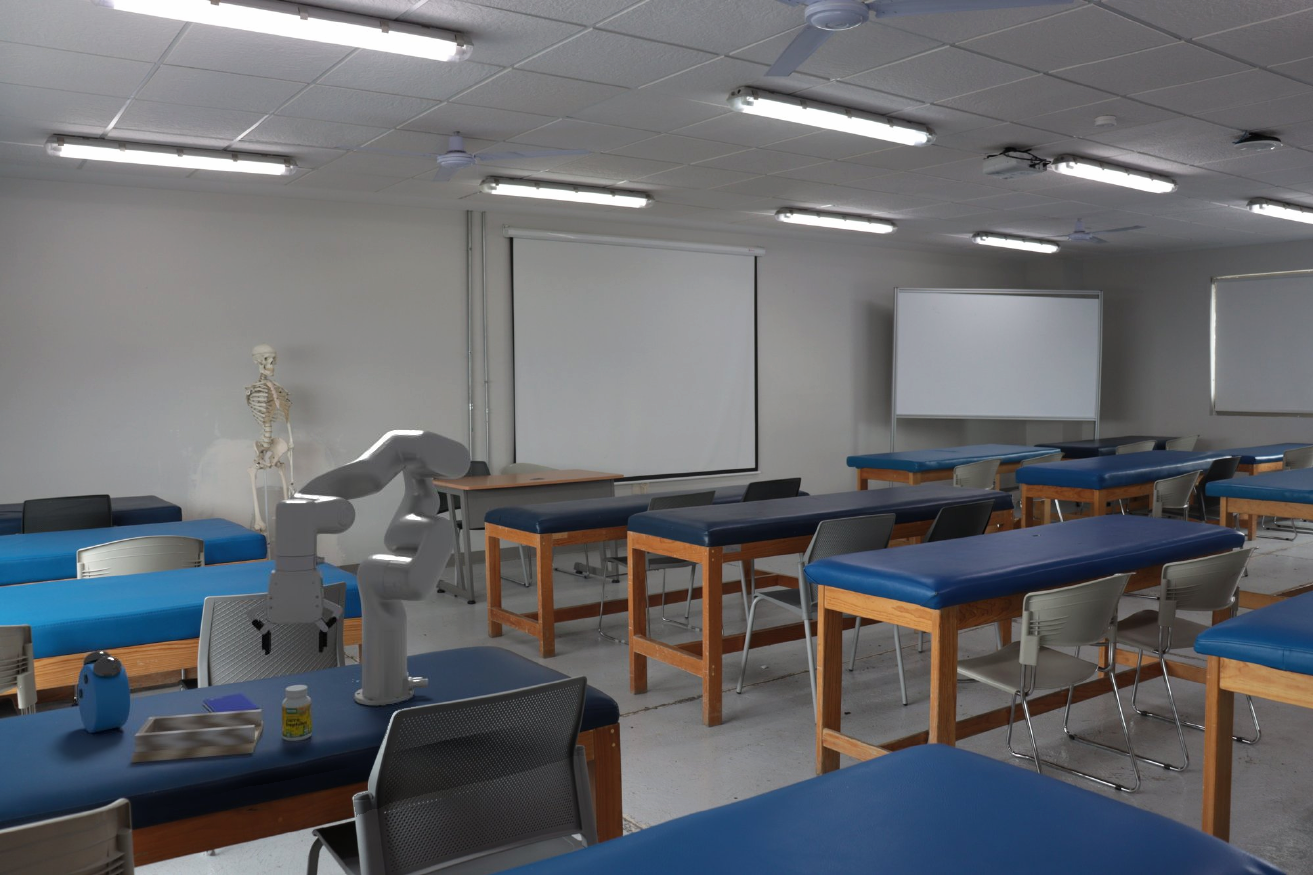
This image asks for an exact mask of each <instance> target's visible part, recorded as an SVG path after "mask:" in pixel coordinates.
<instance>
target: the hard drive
mask: <svg viewBox="0 0 1313 875" xmlns="http://www.w3.org/2000/svg"><path fill="white" fill-rule="evenodd" d="M202 705H203V706H204V707H205V708H206V709H207V710H208V711H209V713H216V712H230V711H245V710H259V709H261V708H260V707H258V706H257V704H255V703H254V702H253V701H252V700H251V699H250V698H249V697H248V696H247V695H245V694H244V693H242V692H241V693H233V694H228V695H224V696H217V697H211V698H207V699H204V700H202Z"/></svg>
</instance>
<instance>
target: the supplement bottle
mask: <svg viewBox="0 0 1313 875" xmlns="http://www.w3.org/2000/svg"><path fill="white" fill-rule="evenodd" d="M308 691H309V690H308V686H307V685H306V684H294V685H289V686H287V687H286V688H285V698H284V699H283V700H282V702H281V734H282V735H281V737H282V739H284V740H285V741H289V742H296V741H297V742H298V741H302V740H306V739H308V738H310V737H311V736H312V733H313V727H312V726H313V722H312V721H313V720H312V719H313V718H312V714H313V713H312V699H311V697H310V696H308V693H309V692H308Z"/></svg>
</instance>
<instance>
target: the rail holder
mask: <svg viewBox="0 0 1313 875" xmlns="http://www.w3.org/2000/svg"><path fill="white" fill-rule="evenodd" d="M263 728H264V721H263V709H261V708H260V709H259V710H245V711H230V712H216V713H211V712H204V713H203V712H202V713H191V714H178V715H177V714H176V715H175V714H173V715H164V716H163V715H161V716H150V717H148V718H147V720H146V721H145V722H144V723H143V725H142V726H141V727H140V729H139V730H138V731H137V732H136V733H135V735H134V752H133V754H132V756H131V763H143V762H154V761H155V762H156V761H167V760H180V759H181V760H182V759H190V758H193V759H194V758H205V757H217V756H228V755H230V756H231V755H241V754H243V755H244V754H253V753H254V750H255V748H256V746H257V743H258V741H259V739H260V735H261V734H262V731H263V730H264V729H263Z"/></svg>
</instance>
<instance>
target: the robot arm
mask: <svg viewBox="0 0 1313 875" xmlns="http://www.w3.org/2000/svg"><path fill="white" fill-rule="evenodd" d="M471 465H472V464H471V454H470V452H469V450H468V448H467V446H466V445H464V444H463V443H461V442H460V441H457V440H455V439H452V438H449V437H447V436H444V435H441V434H438V433H435V432H433V431H430V430H419V429H418V430H417V429H415V430H412V429H395V430H390V431H387V432H386V433H384V434H383V435H382V436H380V437H379V438H378V439H377V440H376V441H374V442H373V443H372V444H371V445H370V446H369V447H368V448H367V449H365V450H364V451H363V452H362V453H361V454H360V455H358V456H357V457H356V458H355V459H353V460H352V461H350V462H348V463H345V464H343V465H341V466H338V467H336V468H333V469H331V470H329V471H326V472H324V473H322V474H319V475H316V476H315V477H313V478H311V479H310V480H309V481H307V482H306V483H305V484H303V485H302V486H301V487H300V488H299V489H297V490H296V491H295V492H294V493H293V494H291V496H290V497H289V498H288V499H283V500H279V502H277V503H276V506H275V518H274V520H275V521H274V522H275V529H274V530H275V536H274V537H275V539H274V540H275V541H274V543H275V544H274V545H275V546H274V569H273V570H271V572H270V575H269V580H268V581H269V582H268V588H267V596H266V597H267V598H266V600H264V601H263V602H261V603H259V604H257V605H255V606H253V607H251V608H249V609H248V610H247V611H246V613H245V614H246V615H247V618H248V619H249V621H250V623H251V626H253V627H254V628H255V629H256V630H257V631H258V632H259V633H260V634H261V650H262V651H264V655H265V656H269V655H270V654H271V652H272V631H271V628H272V626H274V625H290V624H294V625H295V624H312V623H314V624H316V626H317V627H318V628H319V629H320V630H319V632H318V653H320V654H321V653H323V652H324V649H325V648H328V632H329V631H328V630H330V629H331V628H332V627H333V625H335V624H336V623H337V621H338V620H339V617H340V616H341V614H342V612H343V610H344V608H343V606H342V605H339V604H337V603H336V602H335V603H334V602H333V601H330V600H328V599H326V598H324V595H325V594H324V582H323V575H322V569H321V568H317V567H318V566H321V565H325V562H326V561H325V560H326V559H325V557H324V556H322V557H321V556H319V555H318V535H339V534H342V533H344V532H347V531H348V530H349V529H350V528H351V527H352V526H353V524H354V523H355V520H356V510H355V507H354V505H353V504H352V502H350V501H351V500H356V499H361V498H365V497H368V496H369V497H370V496H371V495H374V494H377V493H379V492H381V491H382V490H383V489H384V488H386V486H387V485H388V484H389V483H390V482H391V481H393V480H395V478H396V477H397V476H398V475H399V474H401V473H402V476H403V482H404V495H403V496H402V500H401V501H400V503H399V505H398V507H397V509H396V512H394V515H393V517H392V518H391V520H390V523H389V525H388V527H387V529H386V531H385V534H384V537H383V538H384V539H383V544H384V546H385V549H386V550H387V551H388V552H390V553H376V554H371V555H369V556H366V557H365V558H363V560H362V561H361V563H360V564H359V565H358V568H357V572H356V582H357V584H356V585H357V588H358V592H359V598H360V603H361V604H360V605H361V688H360V689H358V690H357V691H355V693H354V697H353V698H354V701H355V702H356V703H358V704H361V705H366V706H372V707H373V706H377V707H379V705H381V706H387V705H386V704H392V703H395V702H399V701H402V700H405V699H407V698H409V697H411V696H412V695H413V694H414V695H415V689H425V688H426V689H427V688H429V678H423V677H422V676H421V677H412V676H409V671H408V615H407V611H406V607H405V606H404V603H403V601H409V602H421V601H425V600H426V599H427V598H429V597H431V595H432V594H433V592H434V590H435V588H436V587H437V585H438V583H439V580H440V579H441V576H442V575H443V572H444V570H445V568H446V566H447V563H448V561H449V559H450V558H451V555H452V553H453V550H454V547H455V543H456V532H455V527H454V524H453V523H452V522H451V521H450V520H449V519H447V518H446V517H443V516H439V515H438V512H439V510H440V505H441V501H440V500H441V499H440V494H439V493H438V490H437V488H436V485H435V483H434V480H433V479H440V480H441V479H442V480H458V479H461V478H463V477H464V476H465V475H466V474H468V472H469V470H470V467H471ZM391 553H392V554H391ZM325 608H326V609H327V610H330V611H331V612H333V613H332V615H331V617H330V618H329V619H327V620H326V619H325V618H324V617H323V615H324V613H325V612H324V611H325ZM264 610H265V611H266V613H265V614H266V616H265V617H266V622H265V623H264V622H263V621H262V620H260V619H259V617H258V615H257V614H258V613H260V612H262V611H264ZM392 705H393V704H392Z"/></svg>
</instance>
